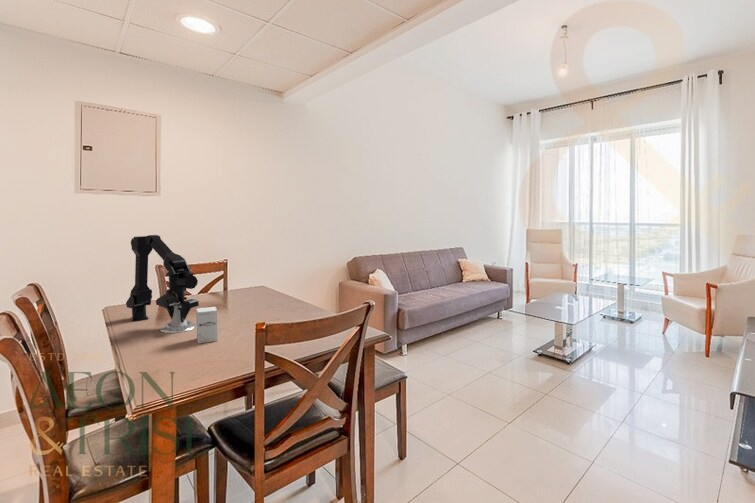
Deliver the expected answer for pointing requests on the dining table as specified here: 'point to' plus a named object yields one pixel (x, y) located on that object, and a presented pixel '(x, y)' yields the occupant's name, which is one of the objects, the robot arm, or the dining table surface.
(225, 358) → the dining table surface
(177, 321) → the flask
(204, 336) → the supplement box
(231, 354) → the dining table surface
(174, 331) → the duct flange
